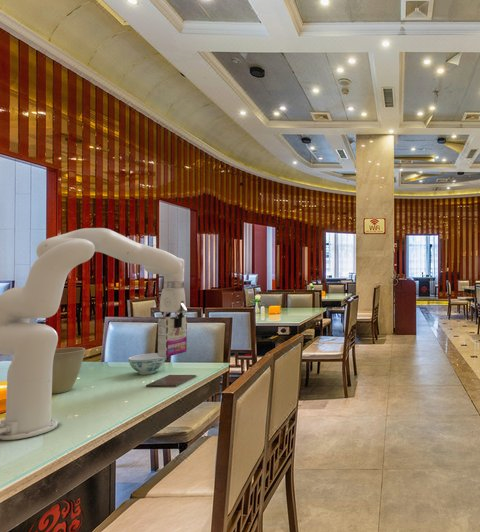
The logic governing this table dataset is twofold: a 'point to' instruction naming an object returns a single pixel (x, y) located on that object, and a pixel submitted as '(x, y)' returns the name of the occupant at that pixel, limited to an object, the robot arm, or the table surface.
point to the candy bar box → (171, 336)
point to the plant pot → (66, 368)
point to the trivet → (171, 381)
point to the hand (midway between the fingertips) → (172, 326)
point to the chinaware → (146, 363)
